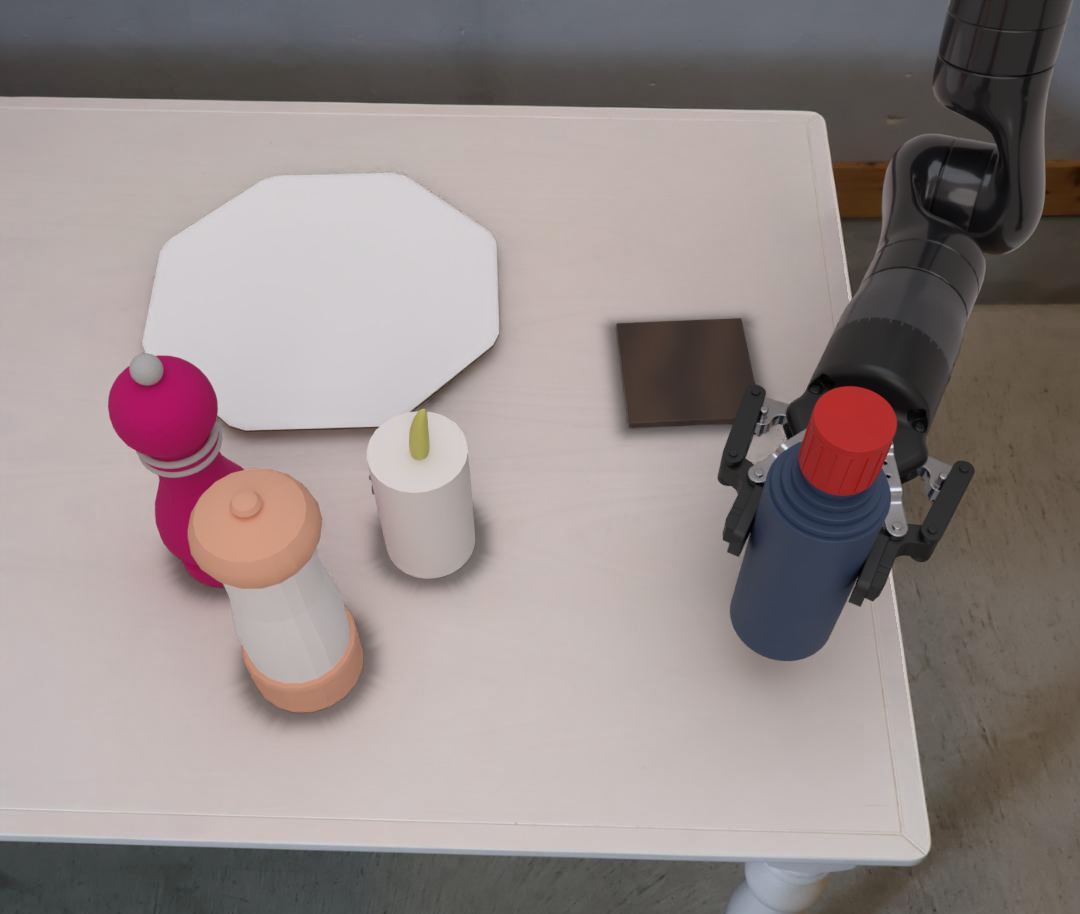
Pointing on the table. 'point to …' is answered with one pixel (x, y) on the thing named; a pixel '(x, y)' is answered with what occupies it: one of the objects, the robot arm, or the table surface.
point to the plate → (326, 300)
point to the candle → (423, 493)
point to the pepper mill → (172, 441)
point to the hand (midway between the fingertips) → (795, 572)
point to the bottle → (802, 560)
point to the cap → (847, 440)
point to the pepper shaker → (278, 587)
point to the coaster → (683, 371)
